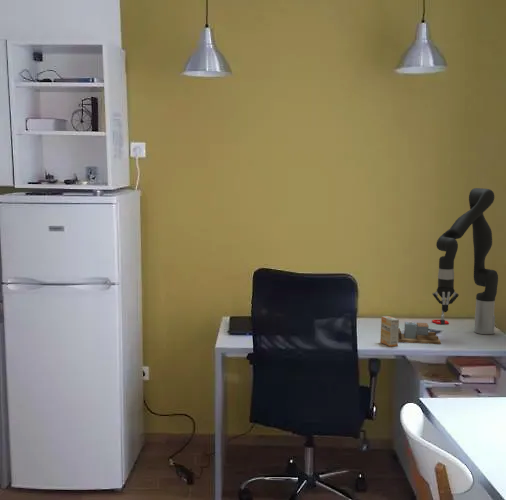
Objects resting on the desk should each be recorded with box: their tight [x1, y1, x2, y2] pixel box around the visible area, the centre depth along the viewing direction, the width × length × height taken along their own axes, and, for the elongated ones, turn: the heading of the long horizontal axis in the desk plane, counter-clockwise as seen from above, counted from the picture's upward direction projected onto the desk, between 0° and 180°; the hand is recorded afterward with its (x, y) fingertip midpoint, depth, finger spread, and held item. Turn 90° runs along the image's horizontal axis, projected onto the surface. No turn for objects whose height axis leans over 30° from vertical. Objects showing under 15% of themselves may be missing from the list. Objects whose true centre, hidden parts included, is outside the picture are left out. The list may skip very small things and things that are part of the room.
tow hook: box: [431, 310, 450, 325], centre depth 361 cm, size 8×13×9 cm
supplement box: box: [379, 315, 400, 348], centre depth 314 cm, size 8×5×13 cm, turn 23°
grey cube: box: [416, 322, 430, 336], centre depth 323 cm, size 5×6×6 cm
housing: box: [403, 321, 417, 339], centre depth 323 cm, size 5×4×8 cm
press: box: [398, 328, 442, 345], centre depth 323 cm, size 20×12×4 cm, turn 83°
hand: (444, 311), depth 325 cm, fingers closed
